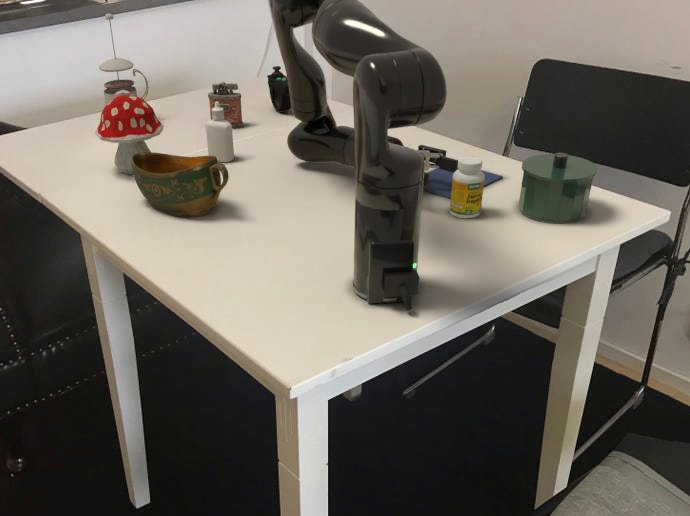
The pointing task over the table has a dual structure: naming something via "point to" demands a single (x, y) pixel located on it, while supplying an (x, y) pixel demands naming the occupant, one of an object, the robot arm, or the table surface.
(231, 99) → the lighter
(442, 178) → the flat panel
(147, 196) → the cup
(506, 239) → the table surface
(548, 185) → the pot
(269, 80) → the controller
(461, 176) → the supplement bottle
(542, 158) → the pot lid
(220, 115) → the eye dropper bottle
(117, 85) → the french press
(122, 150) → the decorative mushroom
